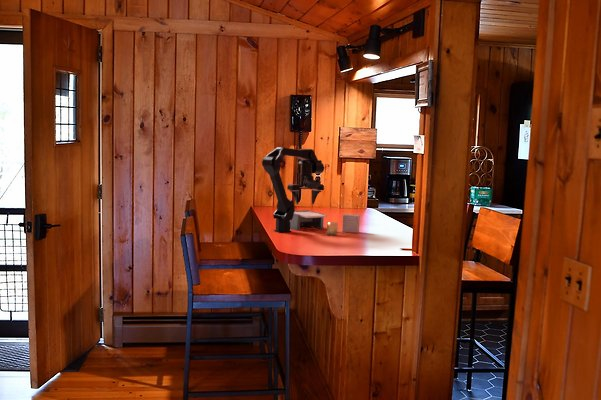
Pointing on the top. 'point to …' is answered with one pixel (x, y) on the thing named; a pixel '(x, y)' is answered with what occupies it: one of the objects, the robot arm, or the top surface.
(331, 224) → the cylinder
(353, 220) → the medicine box
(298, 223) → the trapdoor stand
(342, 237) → the top surface
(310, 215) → the trapdoor flap
